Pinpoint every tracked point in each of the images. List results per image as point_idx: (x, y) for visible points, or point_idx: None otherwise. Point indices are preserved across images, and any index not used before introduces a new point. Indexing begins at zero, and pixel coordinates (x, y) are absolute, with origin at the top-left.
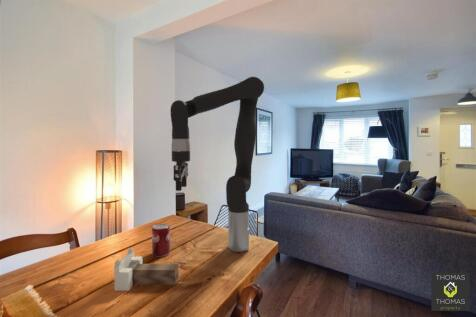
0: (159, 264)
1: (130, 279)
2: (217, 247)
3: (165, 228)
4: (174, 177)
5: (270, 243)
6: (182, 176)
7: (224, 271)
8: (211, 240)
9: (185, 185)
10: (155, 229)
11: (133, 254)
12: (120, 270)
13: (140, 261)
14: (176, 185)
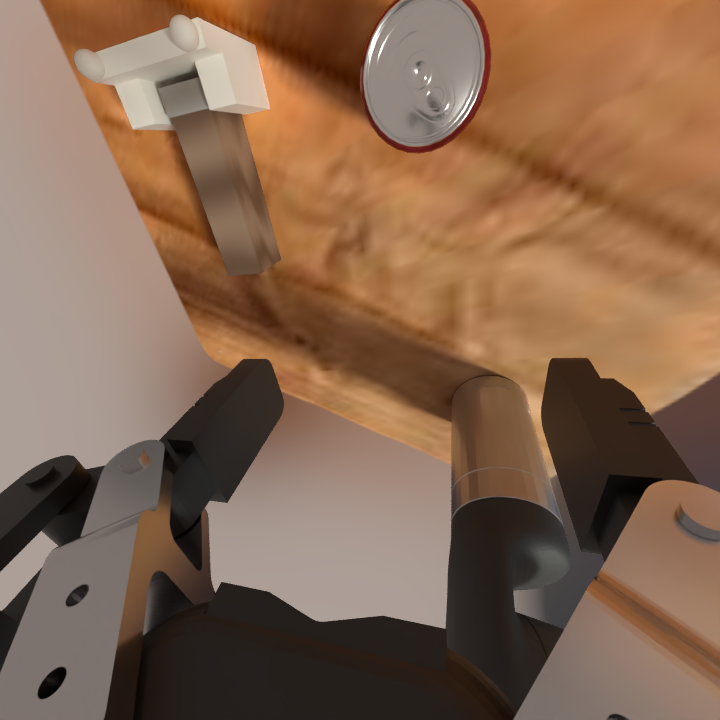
0: (236, 209)
1: (168, 127)
2: (494, 339)
3: (389, 140)
4: (1, 514)
5: None
6: (203, 595)
7: (339, 370)
8: (575, 307)
9: (546, 424)
10: (362, 64)
11: (209, 51)
12: (122, 82)
13: (225, 108)
14: (191, 411)
